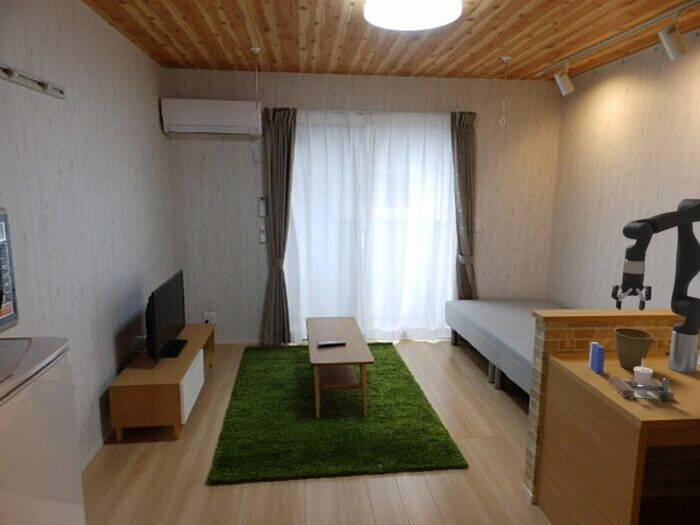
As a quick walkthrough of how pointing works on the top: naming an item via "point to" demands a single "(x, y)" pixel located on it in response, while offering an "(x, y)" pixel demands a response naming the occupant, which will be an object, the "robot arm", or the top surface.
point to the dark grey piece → (655, 388)
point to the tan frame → (625, 390)
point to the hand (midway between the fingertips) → (629, 309)
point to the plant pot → (632, 346)
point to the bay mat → (647, 396)
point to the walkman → (596, 357)
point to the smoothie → (642, 377)
